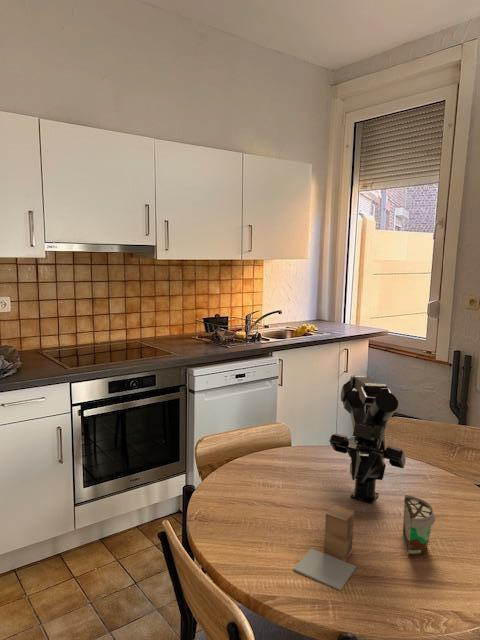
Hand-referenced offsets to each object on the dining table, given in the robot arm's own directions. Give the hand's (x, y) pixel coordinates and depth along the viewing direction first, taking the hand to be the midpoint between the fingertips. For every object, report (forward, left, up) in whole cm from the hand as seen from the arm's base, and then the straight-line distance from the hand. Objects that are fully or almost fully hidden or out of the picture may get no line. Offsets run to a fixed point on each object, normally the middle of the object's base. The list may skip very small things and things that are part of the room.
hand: (357, 480), depth 118 cm
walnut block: (+11, 0, -14) cm, 17 cm away
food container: (-3, +15, -14) cm, 21 cm away
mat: (+18, 0, -14) cm, 23 cm away
